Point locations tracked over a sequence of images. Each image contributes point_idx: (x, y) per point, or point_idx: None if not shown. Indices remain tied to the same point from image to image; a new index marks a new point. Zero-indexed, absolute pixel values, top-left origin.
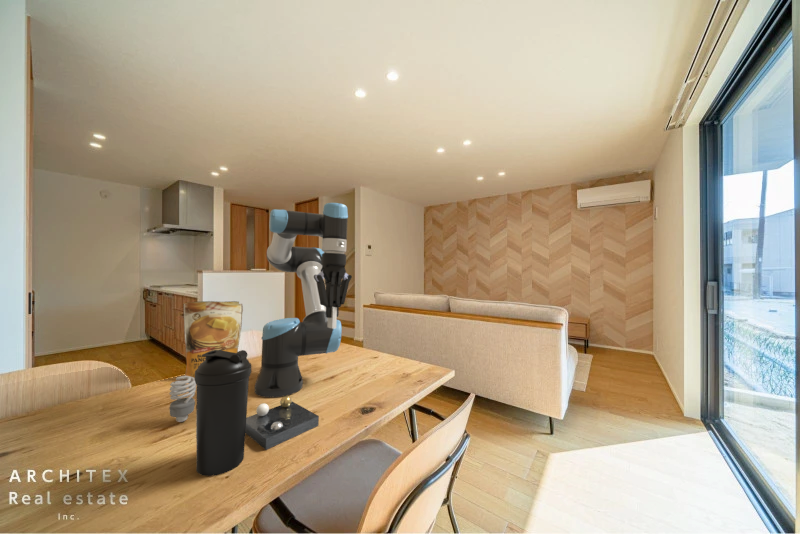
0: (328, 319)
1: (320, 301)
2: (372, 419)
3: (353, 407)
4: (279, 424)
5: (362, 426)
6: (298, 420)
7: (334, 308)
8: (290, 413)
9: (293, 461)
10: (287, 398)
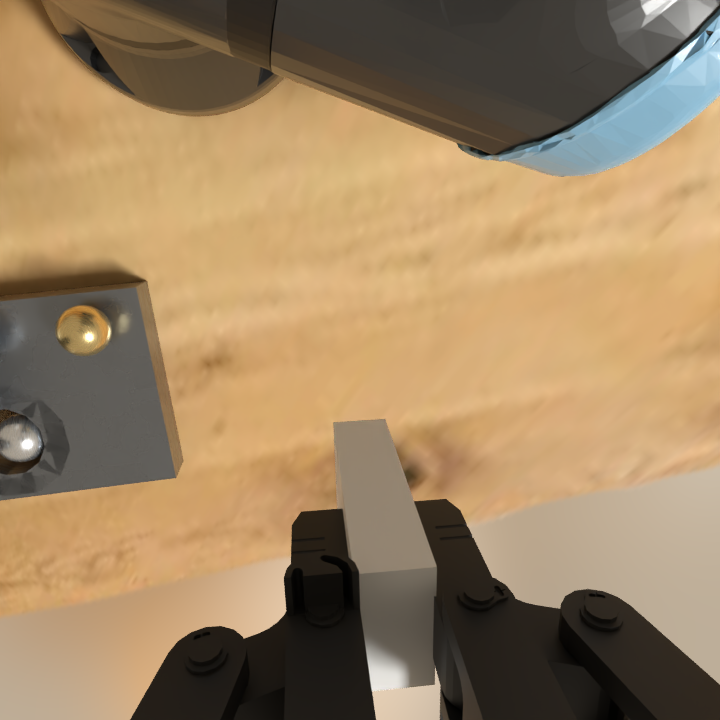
0: (339, 483)
1: (148, 710)
2: None
3: None
4: (19, 458)
5: None
6: (97, 462)
7: (386, 675)
8: (90, 393)
9: (39, 578)
10: (78, 350)
